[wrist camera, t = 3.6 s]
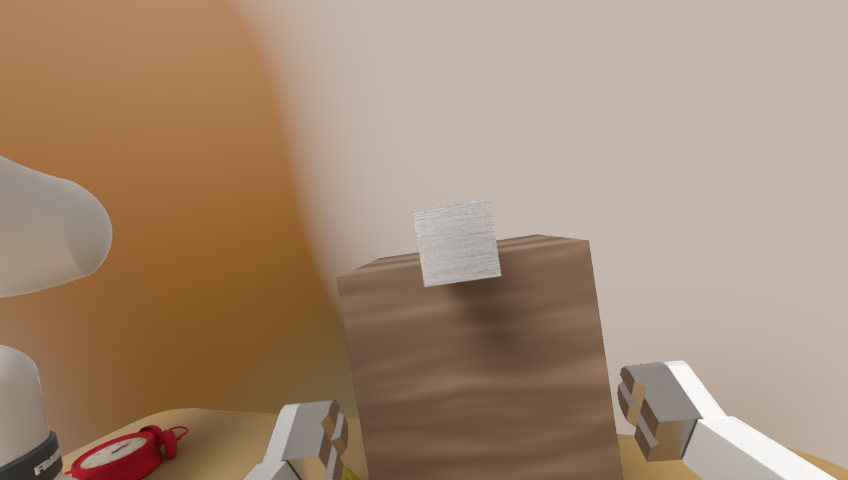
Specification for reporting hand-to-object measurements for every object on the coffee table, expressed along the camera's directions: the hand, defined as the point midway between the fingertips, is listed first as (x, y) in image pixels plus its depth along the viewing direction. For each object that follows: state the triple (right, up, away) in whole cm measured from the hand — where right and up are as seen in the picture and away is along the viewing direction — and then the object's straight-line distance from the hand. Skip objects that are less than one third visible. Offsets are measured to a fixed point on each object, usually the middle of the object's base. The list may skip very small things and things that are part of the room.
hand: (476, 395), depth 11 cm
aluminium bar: (+1, +3, +15) cm, 15 cm away
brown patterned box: (+5, -22, +20) cm, 30 cm away
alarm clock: (-45, -30, +44) cm, 69 cm away
